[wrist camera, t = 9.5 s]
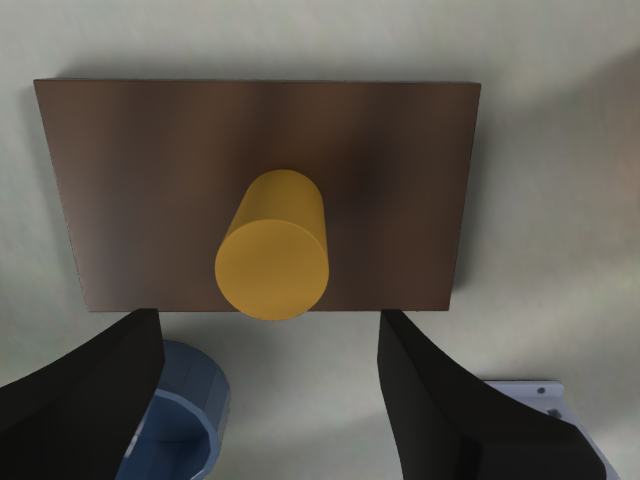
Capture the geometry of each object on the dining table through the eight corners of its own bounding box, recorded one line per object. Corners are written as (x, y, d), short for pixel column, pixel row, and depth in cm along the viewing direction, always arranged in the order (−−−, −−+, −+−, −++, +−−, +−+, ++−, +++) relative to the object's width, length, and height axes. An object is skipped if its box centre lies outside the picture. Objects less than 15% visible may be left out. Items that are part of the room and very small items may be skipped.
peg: (324, 169, 21) (329, 219, 14) (323, 245, 22) (328, 320, 16) (240, 168, 21) (209, 219, 14) (245, 245, 22) (219, 321, 16)
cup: (225, 339, 26) (211, 385, 23) (234, 439, 30) (224, 493, 26) (89, 340, 26) (53, 386, 23) (113, 440, 29) (85, 495, 26)
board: (470, 81, 21) (482, 83, 20) (441, 297, 26) (449, 311, 24) (50, 78, 20) (32, 79, 19) (99, 298, 25) (86, 312, 24)
